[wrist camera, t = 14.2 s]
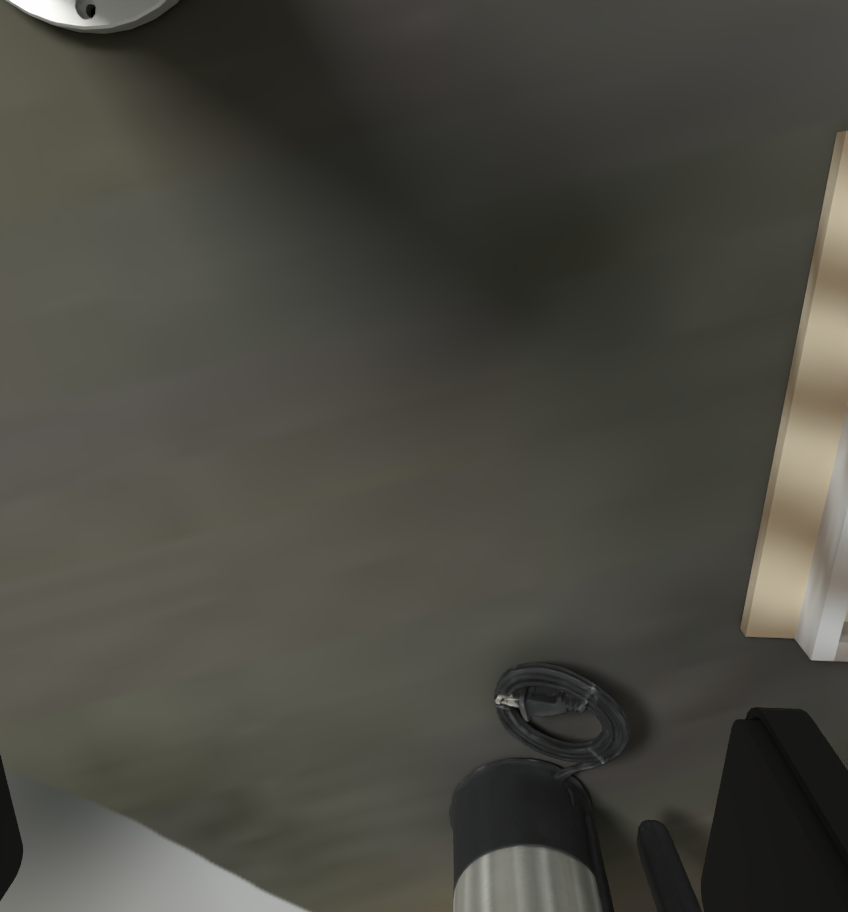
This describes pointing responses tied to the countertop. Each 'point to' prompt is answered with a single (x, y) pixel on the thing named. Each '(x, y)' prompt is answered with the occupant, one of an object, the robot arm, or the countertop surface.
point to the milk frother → (549, 811)
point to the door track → (811, 460)
